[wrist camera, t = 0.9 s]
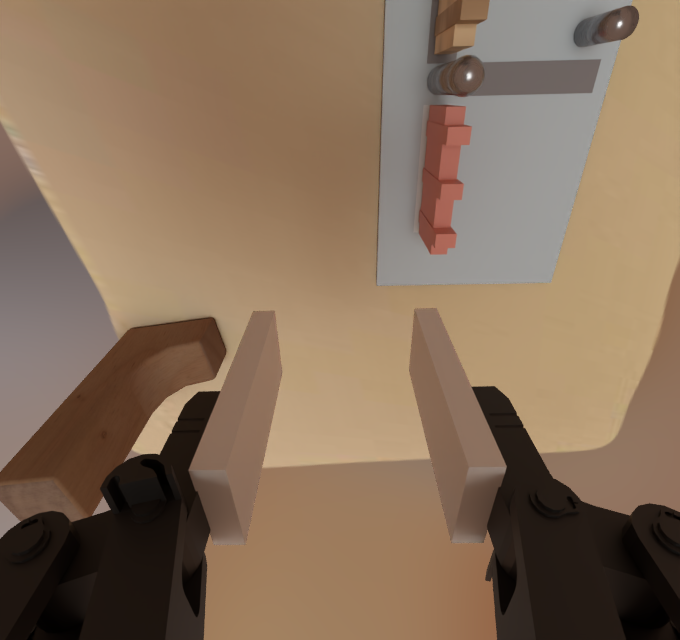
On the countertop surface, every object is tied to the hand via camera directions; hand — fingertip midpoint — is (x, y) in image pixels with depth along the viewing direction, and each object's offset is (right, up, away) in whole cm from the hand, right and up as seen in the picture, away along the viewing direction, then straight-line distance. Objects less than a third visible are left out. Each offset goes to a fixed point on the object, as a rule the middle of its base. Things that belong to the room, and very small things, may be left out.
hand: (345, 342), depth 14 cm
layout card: (+11, +16, +14) cm, 24 cm away
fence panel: (+7, +12, +16) cm, 21 cm away
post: (+7, +18, +13) cm, 23 cm away
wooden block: (-17, -1, +25) cm, 30 cm away
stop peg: (+16, +20, +12) cm, 28 cm away
